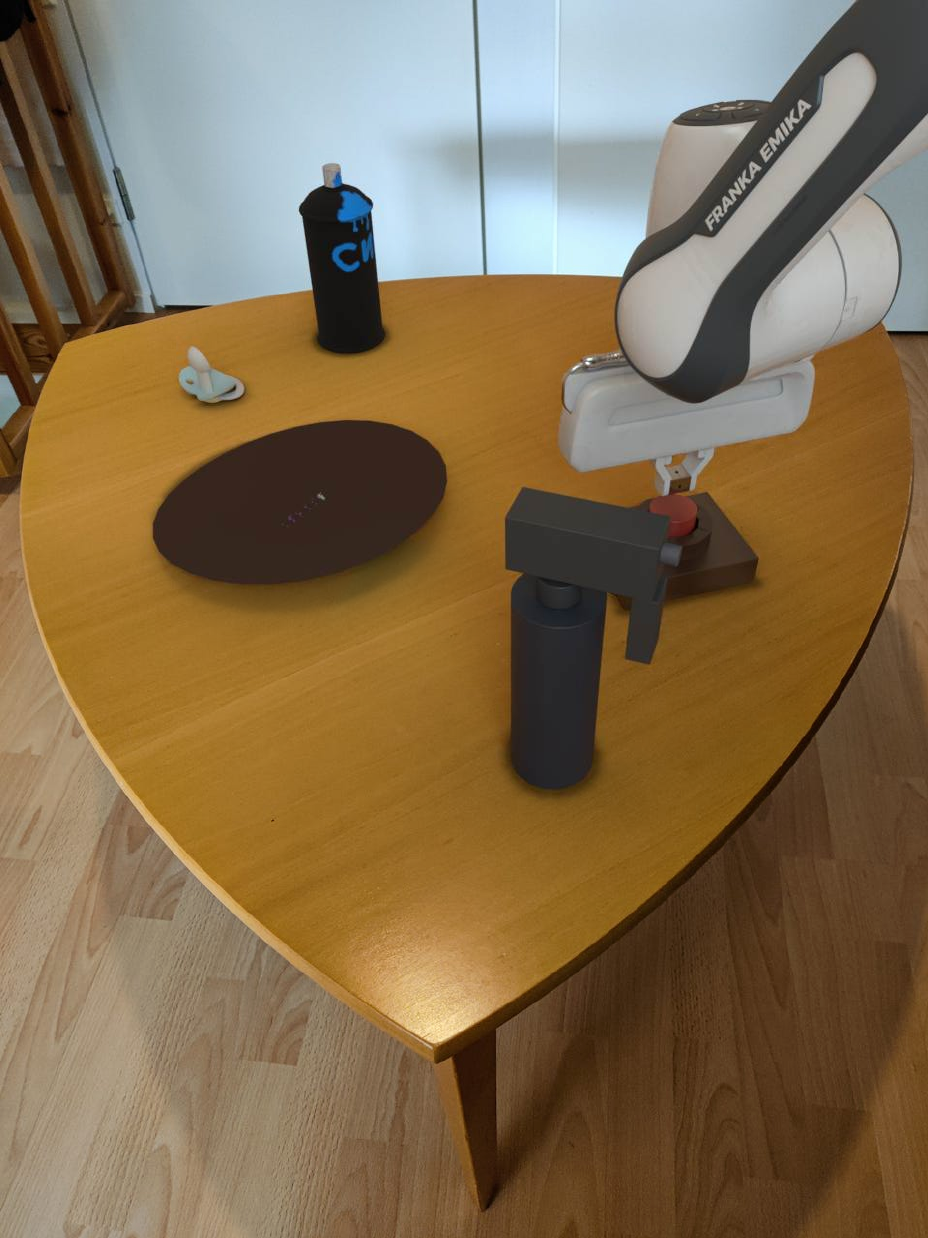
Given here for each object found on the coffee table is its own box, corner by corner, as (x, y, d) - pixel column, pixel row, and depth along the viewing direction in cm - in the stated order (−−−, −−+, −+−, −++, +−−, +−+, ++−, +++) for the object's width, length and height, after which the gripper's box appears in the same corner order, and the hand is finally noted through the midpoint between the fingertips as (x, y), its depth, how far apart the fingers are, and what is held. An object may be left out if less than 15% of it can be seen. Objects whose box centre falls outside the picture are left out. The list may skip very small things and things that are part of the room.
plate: (294, 405, 110) (289, 375, 107) (505, 487, 97) (505, 455, 95) (92, 538, 94) (80, 507, 91) (314, 657, 81) (308, 625, 79)
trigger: (658, 639, 63) (667, 577, 60) (649, 665, 62) (658, 603, 58) (634, 633, 64) (641, 572, 60) (624, 659, 62) (631, 597, 58)
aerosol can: (303, 342, 120) (276, 171, 106) (347, 315, 125) (326, 147, 111) (356, 360, 117) (335, 185, 103) (399, 331, 121) (384, 160, 108)
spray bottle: (655, 751, 73) (693, 504, 58) (635, 815, 69) (670, 568, 54) (525, 716, 76) (529, 473, 60) (499, 776, 72) (496, 531, 56)
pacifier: (220, 373, 116) (175, 391, 113) (210, 322, 111) (164, 340, 108) (257, 396, 112) (211, 415, 109) (248, 344, 108) (201, 363, 104)
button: (682, 506, 88) (685, 489, 86) (702, 533, 85) (705, 516, 84) (640, 514, 87) (642, 498, 86) (658, 542, 84) (661, 525, 83)
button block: (703, 514, 93) (710, 475, 90) (754, 582, 86) (763, 541, 83) (582, 539, 91) (585, 499, 88) (624, 610, 84) (628, 570, 81)
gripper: (578, 381, 70) (569, 535, 79) (840, 336, 73) (801, 488, 83) (548, 340, 74) (544, 490, 84) (796, 299, 78) (765, 448, 87)
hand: (674, 489), depth 83 cm, fingers closed
